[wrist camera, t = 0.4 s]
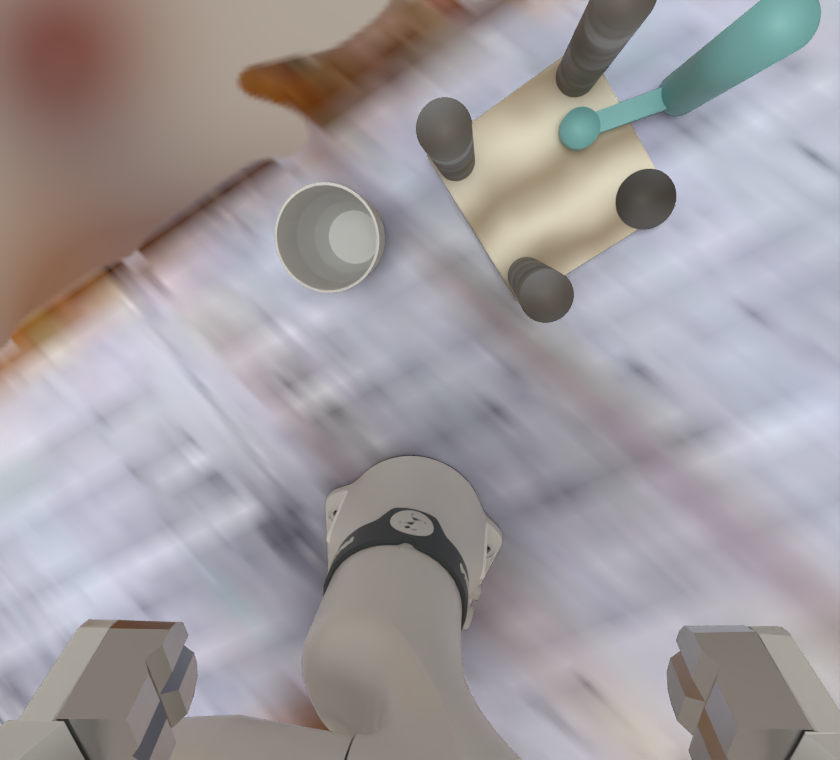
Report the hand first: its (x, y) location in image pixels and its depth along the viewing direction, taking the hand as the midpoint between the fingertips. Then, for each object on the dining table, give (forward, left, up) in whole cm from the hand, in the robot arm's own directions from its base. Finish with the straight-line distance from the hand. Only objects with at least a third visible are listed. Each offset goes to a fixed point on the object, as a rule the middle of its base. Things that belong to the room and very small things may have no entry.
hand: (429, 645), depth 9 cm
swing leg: (+18, -9, -42) cm, 46 cm away
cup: (+4, +12, -45) cm, 47 cm away
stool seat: (+12, -4, -45) cm, 46 cm away
